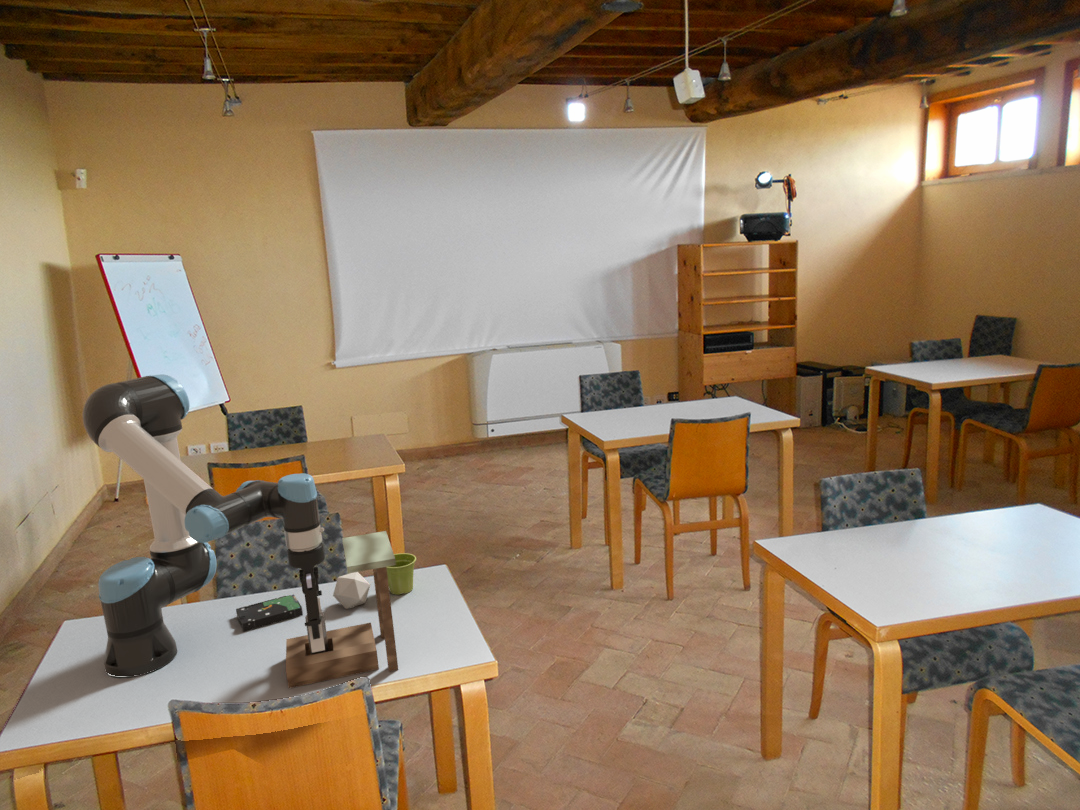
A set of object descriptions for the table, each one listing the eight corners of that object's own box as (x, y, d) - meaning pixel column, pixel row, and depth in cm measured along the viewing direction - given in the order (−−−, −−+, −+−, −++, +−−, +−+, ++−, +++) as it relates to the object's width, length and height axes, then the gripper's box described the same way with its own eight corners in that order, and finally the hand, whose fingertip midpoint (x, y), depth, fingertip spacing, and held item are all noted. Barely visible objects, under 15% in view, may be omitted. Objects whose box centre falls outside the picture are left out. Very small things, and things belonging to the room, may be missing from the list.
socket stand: (288, 693, 164) (271, 580, 159) (289, 653, 181) (274, 549, 176) (407, 667, 171) (395, 558, 166) (397, 631, 188) (385, 530, 183)
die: (364, 595, 211) (337, 570, 208) (382, 586, 205) (355, 560, 203) (347, 619, 204) (320, 593, 202) (366, 610, 199) (338, 584, 196)
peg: (311, 667, 172) (305, 621, 170) (311, 658, 176) (305, 613, 174) (330, 663, 173) (324, 617, 171) (329, 655, 177) (323, 610, 175)
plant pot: (426, 585, 213) (422, 555, 211) (406, 600, 205) (402, 569, 203) (397, 581, 217) (394, 551, 215) (377, 595, 209) (373, 565, 207)
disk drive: (243, 634, 193) (304, 616, 200) (242, 624, 193) (302, 606, 200) (236, 618, 202) (294, 602, 209) (235, 608, 202) (293, 592, 209)
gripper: (324, 562, 159) (337, 659, 163) (321, 524, 181) (332, 611, 186) (286, 569, 157) (300, 667, 161) (287, 530, 179) (299, 617, 184)
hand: (317, 637), depth 173 cm, fingers open, 12 cm apart
